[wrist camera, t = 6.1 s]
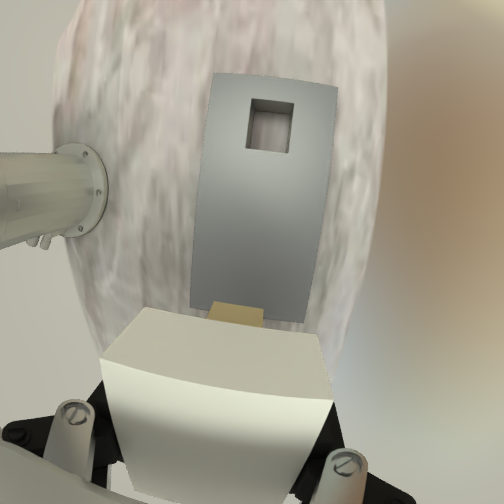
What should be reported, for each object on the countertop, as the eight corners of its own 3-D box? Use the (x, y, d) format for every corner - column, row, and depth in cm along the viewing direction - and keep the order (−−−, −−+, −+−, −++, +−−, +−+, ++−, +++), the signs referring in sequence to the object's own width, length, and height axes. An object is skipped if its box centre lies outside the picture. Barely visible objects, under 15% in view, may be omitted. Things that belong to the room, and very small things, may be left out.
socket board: (299, 303, 34) (303, 323, 30) (200, 290, 35) (189, 307, 30) (328, 100, 28) (337, 87, 24) (221, 87, 29) (213, 72, 24)
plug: (275, 393, 15) (274, 516, 7) (181, 378, 15) (134, 490, 7) (301, 280, 13) (334, 399, 6) (186, 262, 13) (99, 357, 6)
